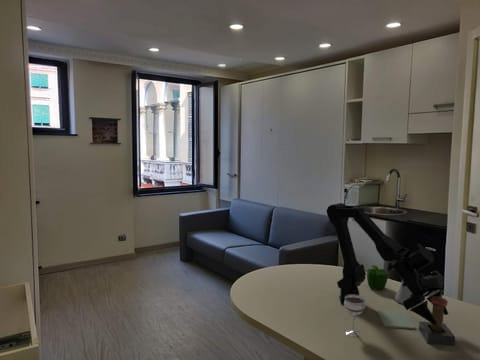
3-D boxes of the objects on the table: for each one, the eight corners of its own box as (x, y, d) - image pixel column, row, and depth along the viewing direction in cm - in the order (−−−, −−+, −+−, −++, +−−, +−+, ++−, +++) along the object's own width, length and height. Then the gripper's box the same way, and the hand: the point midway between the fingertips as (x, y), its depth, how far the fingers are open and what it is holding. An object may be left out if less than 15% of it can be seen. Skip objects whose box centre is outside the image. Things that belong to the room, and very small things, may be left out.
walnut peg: (430, 340, 116) (433, 302, 114) (425, 332, 120) (428, 295, 119) (446, 342, 115) (450, 303, 113) (440, 333, 120) (443, 296, 118)
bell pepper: (388, 286, 156) (390, 264, 155) (384, 293, 149) (386, 270, 148) (368, 282, 161) (370, 260, 159) (364, 288, 154) (365, 266, 152)
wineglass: (347, 325, 125) (348, 292, 123) (366, 332, 120) (368, 298, 119) (339, 333, 119) (340, 299, 118) (359, 341, 115) (361, 305, 114)
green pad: (384, 326, 124) (384, 325, 124) (377, 312, 133) (378, 311, 133) (415, 329, 122) (415, 327, 122) (406, 314, 132) (406, 313, 132)
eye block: (427, 343, 114) (428, 334, 114) (418, 329, 122) (419, 321, 122) (454, 345, 113) (455, 336, 113) (443, 331, 121) (444, 323, 121)
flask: (416, 306, 139) (418, 281, 137) (396, 304, 140) (398, 279, 139) (411, 297, 146) (413, 274, 144) (392, 296, 147) (393, 272, 146)
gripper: (415, 271, 112) (451, 319, 105) (439, 258, 124) (473, 300, 117) (389, 287, 119) (421, 332, 112) (414, 273, 131) (445, 313, 124)
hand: (441, 319), depth 116 cm, fingers open, 9 cm apart
